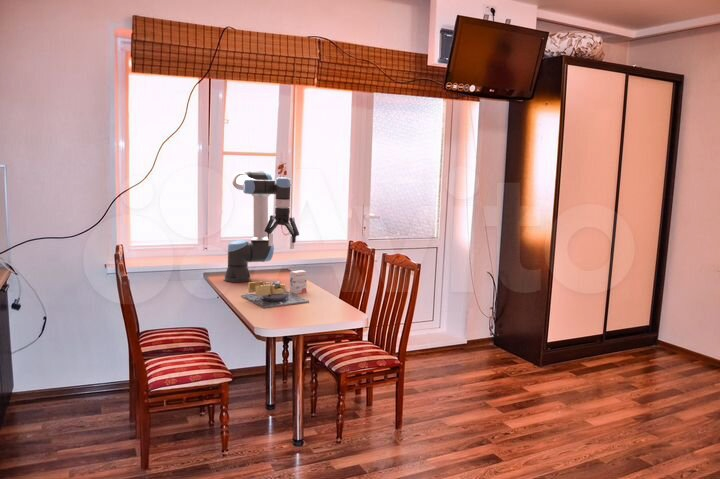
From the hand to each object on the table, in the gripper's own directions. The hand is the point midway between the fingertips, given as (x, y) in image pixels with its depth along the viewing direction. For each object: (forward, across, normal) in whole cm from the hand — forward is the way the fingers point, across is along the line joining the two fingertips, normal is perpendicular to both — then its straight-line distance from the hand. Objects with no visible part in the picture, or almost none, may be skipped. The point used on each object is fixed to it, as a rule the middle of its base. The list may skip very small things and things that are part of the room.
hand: (281, 247), depth 309 cm
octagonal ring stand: (+22, 0, -10) cm, 25 cm away
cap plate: (+27, +2, -7) cm, 28 cm away
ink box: (+27, +2, +14) cm, 31 cm away
